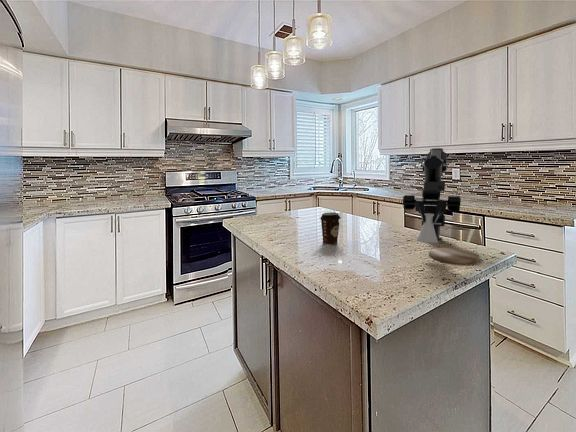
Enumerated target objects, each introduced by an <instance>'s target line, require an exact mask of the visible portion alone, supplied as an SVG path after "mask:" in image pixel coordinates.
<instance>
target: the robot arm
mask: <svg viewBox="0 0 576 432" xmlns="http://www.w3.org/2000/svg"><path fill="white" fill-rule="evenodd" d="M447 163H448V153H446V152H445V151H444V148H442V147H441V148H440V147H437V148H436V147H435V148H430V150H429V152H428V153H427V154H426V159H425V161H424V163H423V164H422V168H421V169H422V173H423V175H424V182H423V189H422V192H421V193H422V195H421V197H416V195H415V194H413V195H412V194H405V195H403V197H402V206H403V209H404V210H415V212H418V213H419V215H420V217H421V226H423V224H424V223H425V213H432V214H434V216H433V226H434V229H435V233H436V237H437V240H438V241H439V240H443V237H442V236H441V237H440V232H441V227H445V223H446V215H445V213H446V212H447V211H448V212H460V208H461V201H462V199H461V197H460V196H456V195H452V196H451V195H447V200H446V199H441V192H445V191H446V189H445V188H446V181H445V180H442V176H443V174H445V172H446V171H447V168H448V166H447V165H448V164H447Z"/></svg>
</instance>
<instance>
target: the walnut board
mask: <svg viewBox="0 0 576 432" xmlns="http://www.w3.org/2000/svg"><path fill="white" fill-rule="evenodd" d="M428 256H429V257H430V258H431V259H433V260H435V261H438V262H443V263H447V264H456V265H471V264H477V263H479V262H480V258H481V257H480V255H479V254H478V253H476V252H475V251H471V250H466V249H462V248H461V249H460V248H454V247H435V248H433V249H432V248H431V249H430V250H429V251H428Z"/></svg>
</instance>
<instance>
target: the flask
mask: <svg viewBox="0 0 576 432" xmlns="http://www.w3.org/2000/svg"><path fill="white" fill-rule="evenodd" d="M433 216H434V214H432V213H425V223H424V224H423V225H422V226H421V229H420V231H419V234H418V235H417V237H416V241H417V242H418V243H424V244H438V243H439V240H437V237H436V233H435V229H434V226H433Z"/></svg>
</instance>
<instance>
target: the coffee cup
mask: <svg viewBox="0 0 576 432" xmlns="http://www.w3.org/2000/svg"><path fill="white" fill-rule="evenodd" d="M319 219H320V223H321V231H322V234H321V236H322V244H323V245H329V246H331V245H336V244H338V240H339V239H338V238H339V231H340V220H341V216H340V214H339V212H322V213H321V216H320V218H319Z"/></svg>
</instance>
